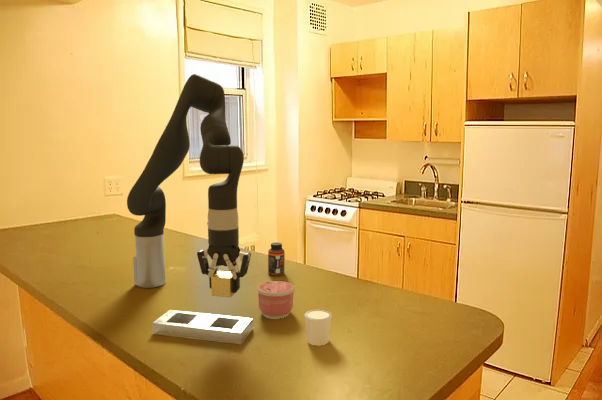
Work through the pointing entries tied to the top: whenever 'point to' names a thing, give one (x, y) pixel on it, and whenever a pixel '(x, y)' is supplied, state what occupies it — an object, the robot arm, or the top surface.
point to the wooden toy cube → (222, 284)
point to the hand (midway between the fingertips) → (224, 290)
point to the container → (275, 299)
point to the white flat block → (203, 326)
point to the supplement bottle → (276, 259)
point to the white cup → (318, 326)
